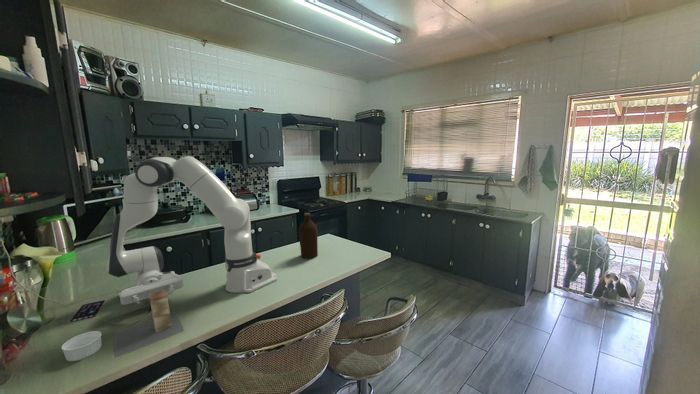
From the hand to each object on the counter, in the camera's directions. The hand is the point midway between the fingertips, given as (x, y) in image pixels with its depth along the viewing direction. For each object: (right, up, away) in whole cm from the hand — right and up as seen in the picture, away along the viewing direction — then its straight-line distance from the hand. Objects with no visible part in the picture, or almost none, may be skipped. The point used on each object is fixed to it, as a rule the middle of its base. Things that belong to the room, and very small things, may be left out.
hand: (155, 296), depth 104 cm
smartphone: (-30, -8, +5) cm, 31 cm away
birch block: (+8, -8, -8) cm, 13 cm away
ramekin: (-9, -11, -19) cm, 23 cm away
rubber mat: (+5, -9, -10) cm, 14 cm away
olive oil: (+50, +3, +56) cm, 75 cm away
